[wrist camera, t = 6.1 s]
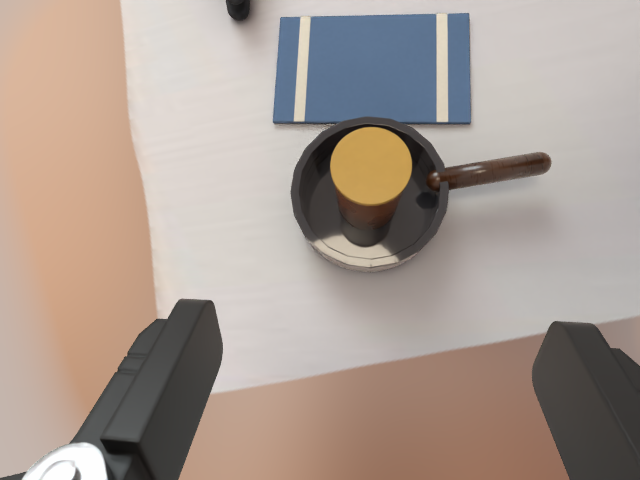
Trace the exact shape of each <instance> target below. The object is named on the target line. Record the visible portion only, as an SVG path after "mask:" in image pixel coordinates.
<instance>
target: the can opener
mask: <svg viewBox="0 0 640 480" xmlns="http://www.w3.org/2000/svg"><path fill="white" fill-rule="evenodd" d="M226 4H227V10H228V13H229V15H230V16H231V17H232V18H233V19H236V20H243V19H245V18H246V17H247V16H248V14H249V10H250V0H226Z"/></svg>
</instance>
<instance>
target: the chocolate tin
mask: <svg viewBox="0 0 640 480" xmlns="http://www.w3.org/2000/svg"><path fill="white" fill-rule="evenodd" d="M330 170H331V176H332V180H333V182H334V185H335V191H336V197H337V202H338V207H339V211H340V213H341V215H342V217H343V218H344V220H345V221H346V222H347V223H348V224H350V225H351V226H353V227H355V228H358V229H361V230H374V229H377V228H380V227H382V226H384V225H385V224H387V223H388V222H389V221H390V220H391V218H392V217H393V215H394V213H395V211H396V209H397V206H398V203H399V201H400V198H401V196H402V193H403V190H404V189H405V187H406V186H407V184H408V182H409V179H410V176H411V172H412V159H411V155H410V152H409V150H408V148H407V146H406V144H405V143H404V142H403V141H402V140H401V139H400V138H399V137H398V136H397V135H395V134H394V133H392V132H390V131H388V130H386V129H382V128H377V127H367V128H361V129H358V130H355V131H353V132H351V133H349V134H348V135H346V136H345V137H344V138H343V139H342V140H341V141H340V142H339V143H338V144H337V146H336V147H335V149H334V151H333V154H332V157H331V162H330Z"/></svg>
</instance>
